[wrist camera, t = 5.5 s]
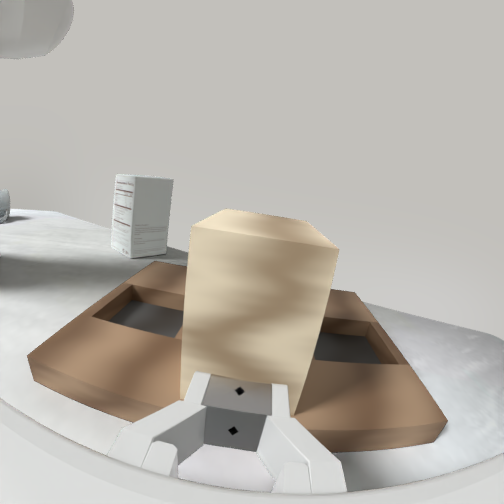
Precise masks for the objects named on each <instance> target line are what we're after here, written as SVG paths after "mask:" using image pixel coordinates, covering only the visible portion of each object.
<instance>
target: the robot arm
mask: <svg viewBox="0 0 504 504" xmlns="http://www.w3.org/2000/svg"><path fill="white" fill-rule="evenodd" d="M73 14H74V7H73V2H72V0H0V58H7V59H21V58H31V57H39V56H45V55H46V54H48V53H49V52H51V51H52V50H53V49H54V48H55V47H57V46H58V45H59V43H60V42H61V41H62V40H63V39H64V37H65V36H66V34H67V32H68V31H69V29H70V26H71V23H72V20H73ZM0 256H1V255H0ZM203 444H208V445H214V446H220V447H227V448H234V449H240V450H246V451H253V452H256V453H257V455H258V457H259V458H260V460H261V461H262V463H263V464H264V466H265V467H266V469H267V470H268V472H269V473H270V475H271V476H272V478H273V479H274V481H275V482H276V483H275V485H274V487H273V489H272V491H271V493H269V492H257V491H247V490H238V489H231V488H224V487H218V486H212V485H207V484H201V483H196V482H192V481H187V480H183V479H179V478H178V465H179V464H180V463H182V462H183V461H184V460H186V459H187V458H188V457H189V456H191V455H192V454H193V453H194V452H196V451H197V450H198V449H199V448H200V447H202V446H203ZM0 504H504V453H502V454H500V455H497V456H495V457H493V458H490V459H488V460H485V461H483V462H480V463H477V464H475V465H472V466H469V467H466V468H463V469H460V470H457V471H454V472H451V473H447V474H444V475H441V476H437V477H433V478H429V479H425V480H421V481H417V482H412V483H407V484H402V485H397V486H391V487H385V488H378V489H371V490H363V491H353V492H347V488H346V483H345V478H344V473H343V469H342V464H341V461H339V460H338V459H337V458H336V457H335V456H334V455H333V454H332V453H331V452H330V451H329V450H327V449H326V448H325V447H324V446H323V445H322V444H321V443H320V442H319V441H318V440H317V439H316V438H315V437H314V436H313V435H312V434H311V433H310V432H309V431H308V430H306V429H305V428H304V427H303V426H302V425H301V424H300V423H299V422H298V421H297V420H296V419H295V418H291V417H290V405H289V394H288V386H287V385H284V384H273V383H272V384H269V383H261V382H253V381H246V380H241V379H235V378H230V377H225V376H220V375H215V374H210V373H205V372H200V371H196V372H195V373H194V375H193V378H192V380H191V383H190V385H189V388H188V391H187V393H186V396H185V398H184V401H181V400H178V401H176V402H175V403H173V404H171V405H169V406H167V407H165V408H163V409H161V410H159V411H157V412H155V413H153V414H151V415H149V416H147V417H145V418H143V419H140V420H138V421H136V422H134V423H132V424H130V425H128V426H125V427H123V428H122V429H121V431H120V433H119V434H118V436H117V438H116V440H115V441H114V443H113V445H112V447H111V448H110V450H109V452H108V454H107V456H106V455H104V454H101V453H99V452H97V451H94V450H92V449H90V448H87V447H85V446H83V445H81V444H79V443H76V442H74V441H72V440H70V439H68V438H66V437H64V436H62V435H60V434H58V433H56V432H55V431H53V430H51V429H49V428H47V427H45V426H44V425H42V424H40V423H38V422H37V421H35V420H33V419H32V418H30V417H28V416H27V415H25V414H24V413H22V412H20V411H19V410H17V409H16V408H14V407H13V406H11V405H10V404H8V403H7V402H5V401H4V400H3V399H1V398H0Z"/></svg>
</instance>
